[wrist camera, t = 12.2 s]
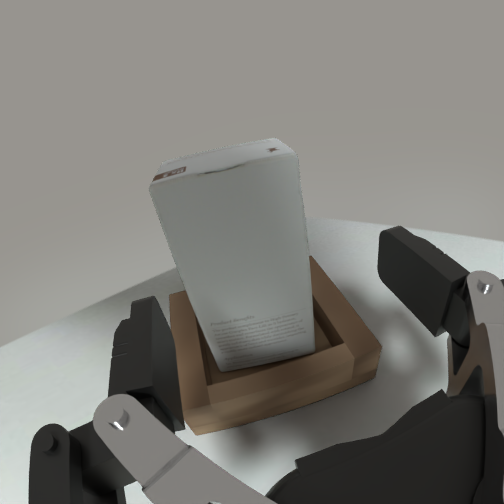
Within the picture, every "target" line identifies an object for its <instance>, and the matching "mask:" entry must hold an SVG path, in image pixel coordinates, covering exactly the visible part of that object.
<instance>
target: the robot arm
mask: <svg viewBox="0 0 504 504" xmlns="http://www.w3.org/2000/svg"><path fill="white" fill-rule="evenodd" d="M377 268H378V274H379V277H380V279H381V281H382V282H383V283H384V284H385V285H386V286H387V287H388V288H389V289H390V290H391V291H392V292H393V293H394V294H395V295H396V296H397V297H398V298H399V299H400V300H401V301H402V302H403V304H404V305H405V306H406V307H407V308H408V309H409V310H410V311H411V312H412V313H413V314H414V315H415V316H416V317H417V318H418V319H419V320H420V321H421V322H422V324H423V325H424V326H425V327H426V328H427V329H428V330H429V331H430V332H431V333H432V334H433V335H434V337H437V336H439V335H440V334H442V333H444V332H446V331H447V332H448V333H449V336H448V339H447V349H448V388H447V392H446V394H445V392H444V391H443V390H442V389H441V390H440V391H438V392H437V393H435V394H433V395H432V396H430V397H429V398H427V399H425V400H424V401H422V402H420V403H419V404H417V405H415V406H413V407H412V408H411V409H410V410H409V411H408V412H407V413H406V414H405V415H404V416H402V417H401V418H400V419H399V420H398V421H397V422H396V423H395V424H394V425H393V426H392V427H390V428H389V429H388V430H387V431H386V432H385V433H383V434H381V435H379V436H375V437H371V438H366V439H361V440H357V441H352V442H346V443H341V444H336V445H334V446H331V447H329V448H326V449H324V450H321V451H318V452H316V453H313V454H310V455H307V456H305V457H302V458H299V459H296V460H295V464H296V469H295V470H293V471H292V472H290V473H288V474H287V475H286V476H284V477H283V478H282V479H280V480H279V481H278V482H277V483H276V484H275V485H274V486H273V487H272V488H271V489H270V490H269V492H268V493H267V494H266V495H265V496H263V495H262V494H260V493H258V492H257V491H255V490H254V489H252V488H250V487H249V486H247V485H246V484H244V483H243V482H241V481H240V480H238V479H237V478H235V477H234V476H232V475H231V474H229V473H228V472H226V471H225V470H224V469H222V468H221V467H219V466H218V465H217V464H215V463H214V462H212V461H211V460H210V459H208V458H207V457H206V456H204V455H203V454H202V453H200V452H199V451H198V450H196V449H195V448H194V447H192V446H190V445H189V446H188V445H187V444H185V443H184V442H183V441H182V440H181V439H179V438H178V437H177V436H176V435H175V431H180V430H185V424H184V417H183V410H182V402H181V394H180V386H179V377H178V368H177V358H176V348H175V342H174V338H173V335H172V332H171V330H170V327H169V325H168V323H167V321H166V319H165V317H164V314H163V312H162V310H161V308H160V306H159V303H158V301H157V299H156V298H155V296H151V297H148V298H144V299H140V300H136V301H133V302H132V305H131V314H130V318H129V319H125V320H122V321H121V323H120V324H119V326H118V328H117V329H116V331H115V334H114V341H113V347H114V348H113V349H112V358H111V368H110V378H109V390H108V398H107V399H105V400H104V401H103V402H101V403H100V405H99V406H98V407H97V409H96V411H95V413H94V417H93V420H92V421H91V422H89V423H87V424H85V425H82V426H80V427H78V428H76V429H73V430H71V431H69V432H68V431H67V430H66V429H65V428H64V427H62V426H61V425H58V424H48V425H45V426H43V427H42V428H41V429H39V430H38V432H37V433H36V434H35V436H34V438H33V440H32V444H31V454H30V468H29V504H126V499H125V492H124V486H126V485H128V484H131V483H133V482H135V481H138V482H139V483H140V484H141V486H142V487H143V488H142V491H143V492H144V494H145V495H146V496H147V497H148V498H149V499H150V501H151V502H152V503H154V504H504V279H502V280H500V279H499V278H498V277H496V276H495V275H493V274H491V273H489V272H486V271H474V272H472V273H470V272H469V271H467V270H466V269H465V268H464V267H462V266H461V265H460V264H458V263H457V262H456V261H454V260H453V259H452V258H450V257H449V256H448V255H446V254H444V253H443V252H442V251H441V250H440V249H438V248H436V246H434V245H433V244H431V243H430V242H429V241H427V240H426V239H423V238H420V237H418V236H415V235H413V234H412V233H410V232H409V231H408V230H406V229H405V228H403V227H402V226H397V227H393V228H390V229H387V230H384V231H382V232H381V233H380V236H379V251H378V267H377Z"/></svg>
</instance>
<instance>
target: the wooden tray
mask: <svg viewBox="0 0 504 504" xmlns="http://www.w3.org/2000/svg"><path fill="white" fill-rule="evenodd" d="M309 261H310V274H311V288H312V302H313V319H314V338H315V352H314V353H311V354H307V355H303V356H299V357H295V358H290V359H286V360H281V361H277V362H272V363H267V364H262V365H258V366H253V367H248V368H242V369H237V370H232V371H226V372H221V371H220V370H219V368H218V366H217V363H216V361H215V359H214V356H213V354H212V352H211V349H210V347H209V345H208V343H207V340H206V338H205V336H204V334H203V331H202V329H201V326H200V324H199V322H198V319H197V317H196V315H195V312H194V310H193V307H192V305H191V302H190V300H189V297H188V295H187V292H186V290H185V291H181V292H178V293H174V294H170V295H169V301H170V323H171V332H172V335H173V338H174V342H175V348H176V358H177V368H178V377H179V386H180V394H181V402H182V410H183V417H184V420H185V422H186V423H187V424H188V426H189V427H190V428H191V430H192V431H193V432H194V434H195V435H201V434H206V433H211V432H215V431H220V430H224V429H228V428H232V427H236V426H240V425H244V424H247V423H251V422H255V421H258V420H262V419H265V418H269V417H272V416H275V415H278V414H282V413H285V412H288V411H291V410H294V409H297V408H300V407H303V406H305V405H308V404H311V403H314V402H317V401H319V400H322V399H325V398H327V397H330V396H332V395H335V394H337V393H340V392H342V391H345V390H347V389H350V388H352V387H354V386H357V385H359V384H361V383H364V382H366V381H368V380H370V379H373V378H375V375H376V371H377V366H378V362H379V358H380V353H381V349H382V346H381V344H380V343H379V342H378V340H377V339H376V338H375V336H374V335H373V334H372V332H371V331H370V330H369V329H368V327H367V326H366V325H365V323H364V322H363V321H362V319H361V318H360V317H359V315H358V314H357V313H356V312H355V310H354V309H353V308H352V306H351V305H350V304H349V303H348V301H347V300H346V299H345V297H344V296H343V295H342V294H341V292H340V291H339V290H338V288H337V287H336V286H335V285H334V283H333V282H332V281H331V280H330V278H329V277H328V276H327V275H326V273H325V272H324V271H323V270H322V268H321V267H320V266H319V265H318V263H317V262H316V261H315V260H314V258H313V257H312V256H309Z"/></svg>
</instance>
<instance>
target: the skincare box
mask: <svg viewBox="0 0 504 504" xmlns="http://www.w3.org/2000/svg"><path fill="white" fill-rule="evenodd" d="M149 192H150V195H151V197H152V200H153V203H154V206H155V208H156V211H157V214H158V217H159V220H160V223H161V225H162V228H163V231H164V234H165V236H166V239H167V242H168V245H169V247H170V250H171V253H172V256H173V258H174V261H175V264H176V266H177V269H178V272H179V274H180V277H181V279H182V282H183V285H184V287H185V290H186V292H187V295H188V297H189V300H190V302H191V305H192V307H193V310H194V312H195V315H196V317H197V319H198V322H199V324H200V326H201V329H202V331H203V334H204V336H205V338H206V340H207V343H208V345H209V347H210V349H211V352H212V354H213V356H214V359H215V361H216V363H217V366H218V368H219V370H220V371H221V372H226V371H232V370H237V369H242V368H248V367H253V366H258V365H262V364H267V363H272V362H277V361H281V360H286V359H290V358H295V357H299V356H303V355H307V354H311V353H314V352H315V338H314V319H313V302H312V288H311V274H310V261H309V250H308V240H307V230H306V221H305V213H304V205H303V198H302V191H301V183H300V172H299V161H298V156H297V154H296V153H295V152H294V151H293V150H292V149H291V148H290V147H289V146H287V145H286V144H284V143H283V142H282V141H280V140H278V139H276V138H270V139H265V140H259V141H253V142H247V143H242V144H237V145H232V146H227V147H222V148H218V149H213V150H208V151H204V152H199V153H195V154H191V155H187V156H183V157H179V158H175V159H170V160H166V161H164V162H163V163H162V164H161V166H160V168H159V170H158V172H157V173H156V175H155V177H154V179H153V181H152V183H151V184H150V187H149Z"/></svg>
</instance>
